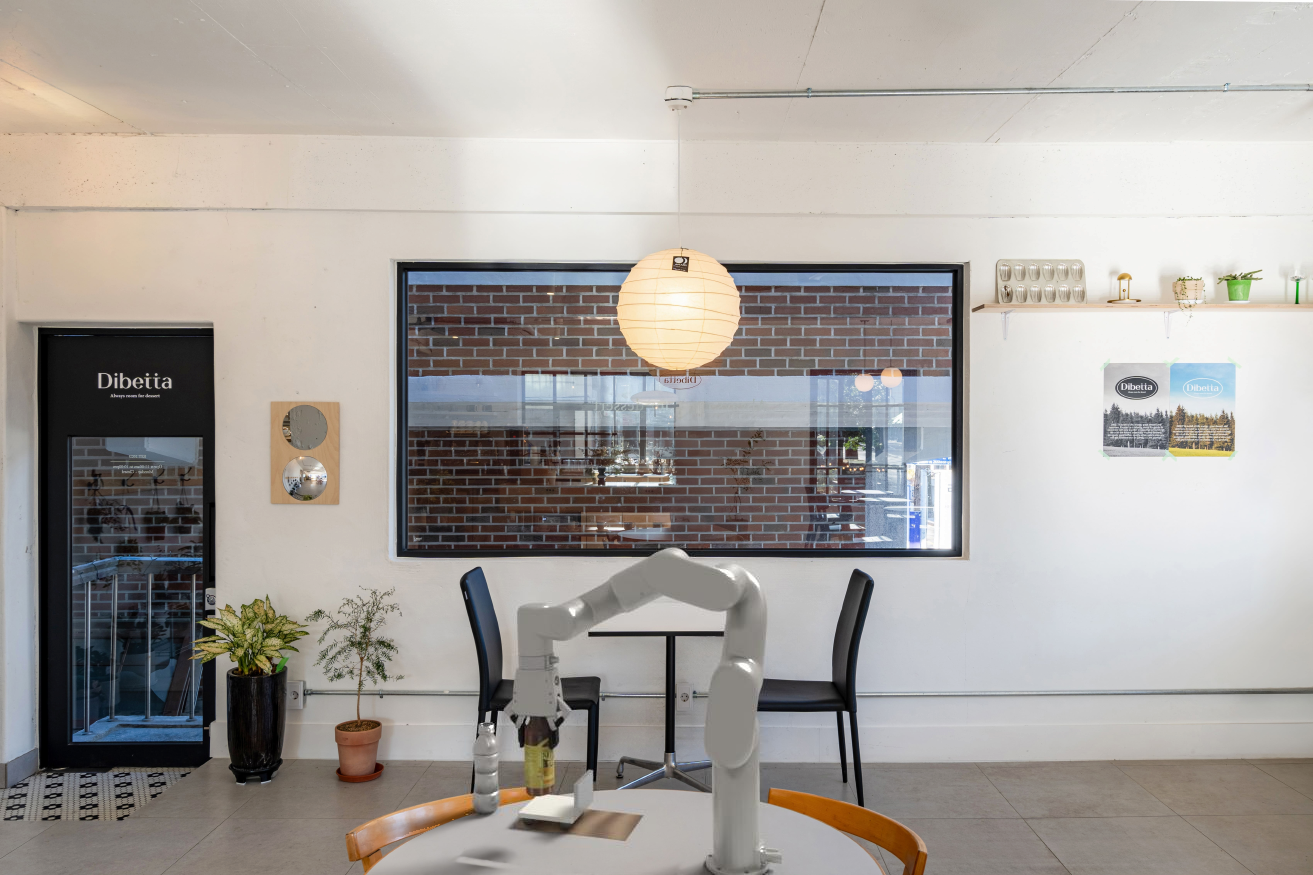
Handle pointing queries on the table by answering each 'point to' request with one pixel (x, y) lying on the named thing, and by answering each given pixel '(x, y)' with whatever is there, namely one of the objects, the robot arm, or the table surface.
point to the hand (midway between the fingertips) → (538, 745)
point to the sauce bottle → (538, 758)
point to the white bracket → (561, 804)
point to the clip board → (592, 825)
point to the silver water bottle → (486, 770)
